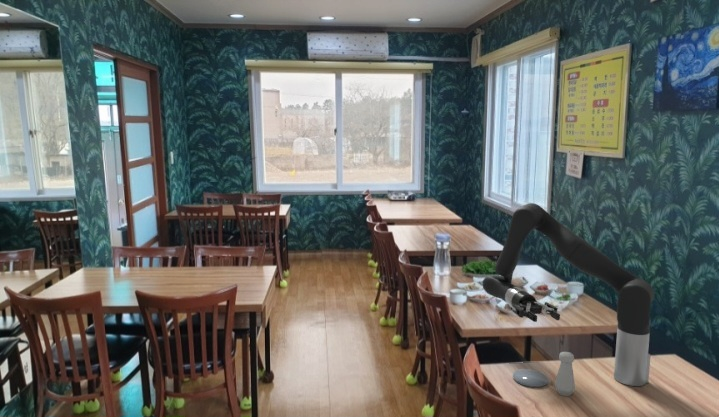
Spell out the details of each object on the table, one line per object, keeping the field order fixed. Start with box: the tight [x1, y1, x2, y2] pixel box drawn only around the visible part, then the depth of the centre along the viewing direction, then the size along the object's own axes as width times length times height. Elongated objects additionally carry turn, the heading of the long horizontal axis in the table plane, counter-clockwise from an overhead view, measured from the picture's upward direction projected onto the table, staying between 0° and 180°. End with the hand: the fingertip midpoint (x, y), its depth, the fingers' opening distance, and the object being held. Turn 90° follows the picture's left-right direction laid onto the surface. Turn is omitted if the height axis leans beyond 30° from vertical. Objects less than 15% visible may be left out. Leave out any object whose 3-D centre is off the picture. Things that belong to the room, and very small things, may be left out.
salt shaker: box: [554, 351, 576, 397], centre depth 155 cm, size 6×6×13 cm
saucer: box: [512, 368, 549, 388], centre depth 164 cm, size 11×11×1 cm
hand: (547, 318), depth 164 cm, fingers open, 8 cm apart
